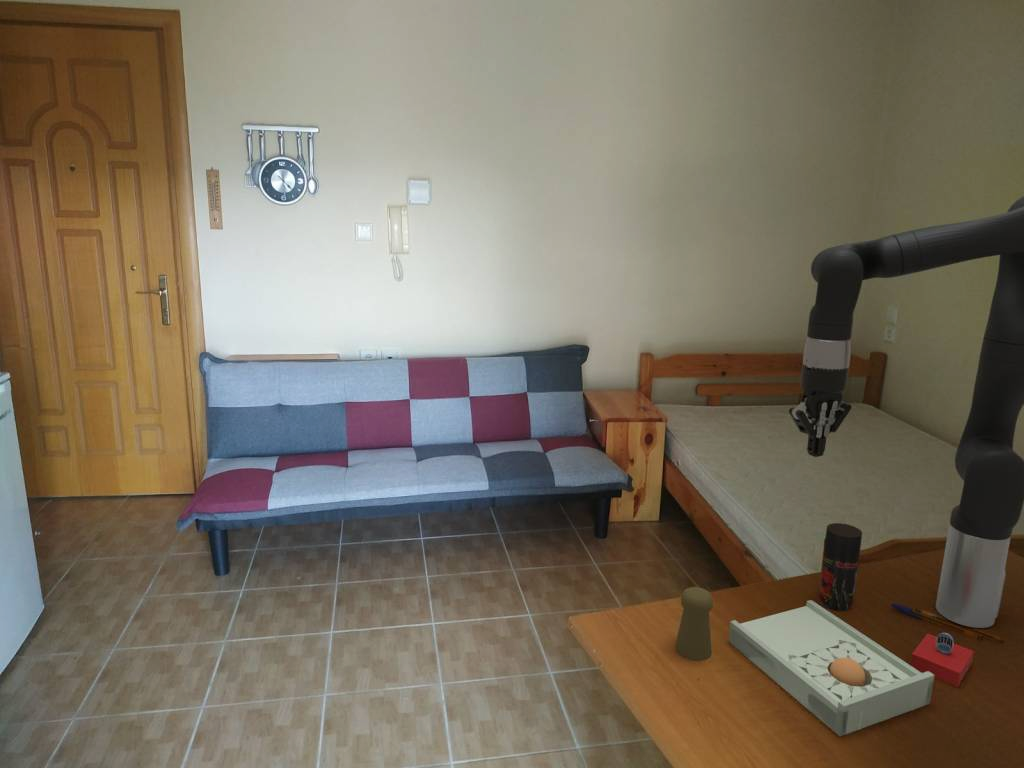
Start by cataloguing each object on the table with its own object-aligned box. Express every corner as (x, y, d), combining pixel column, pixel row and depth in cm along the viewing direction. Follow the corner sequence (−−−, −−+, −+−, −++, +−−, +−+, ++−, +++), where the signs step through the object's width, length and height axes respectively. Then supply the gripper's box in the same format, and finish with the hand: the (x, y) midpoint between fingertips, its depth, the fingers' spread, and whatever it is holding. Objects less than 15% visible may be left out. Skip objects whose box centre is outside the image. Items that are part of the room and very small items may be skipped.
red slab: (925, 647, 119) (930, 615, 117) (970, 666, 114) (977, 632, 112) (909, 668, 113) (915, 634, 112) (957, 688, 108) (963, 653, 107)
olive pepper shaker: (714, 644, 119) (719, 586, 116) (708, 664, 114) (713, 604, 111) (679, 635, 121) (682, 579, 119) (671, 654, 116) (675, 596, 113)
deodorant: (856, 612, 128) (866, 538, 125) (821, 609, 130) (831, 535, 126) (847, 596, 134) (857, 524, 130) (815, 592, 135) (823, 521, 132)
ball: (875, 690, 106) (851, 679, 111) (868, 659, 106) (844, 649, 110) (850, 702, 104) (826, 690, 109) (842, 669, 104) (819, 659, 109)
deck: (808, 619, 126) (811, 594, 125) (930, 704, 105) (935, 675, 103) (728, 641, 120) (730, 616, 118) (840, 737, 98) (844, 707, 97)
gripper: (837, 355, 128) (826, 444, 132) (781, 361, 123) (772, 453, 128) (871, 364, 121) (859, 457, 126) (813, 370, 117) (802, 467, 121)
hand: (815, 455), depth 127 cm, fingers closed
